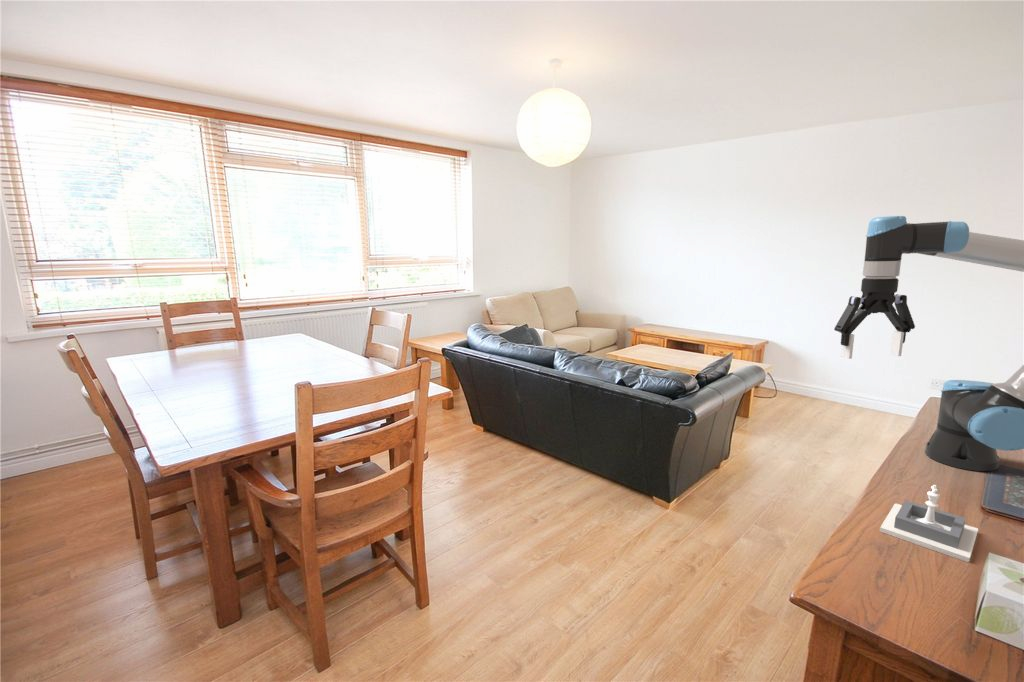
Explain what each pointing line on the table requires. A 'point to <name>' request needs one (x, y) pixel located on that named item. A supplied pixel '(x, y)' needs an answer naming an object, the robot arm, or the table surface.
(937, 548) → the socket board
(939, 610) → the table surface
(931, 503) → the chess piece
